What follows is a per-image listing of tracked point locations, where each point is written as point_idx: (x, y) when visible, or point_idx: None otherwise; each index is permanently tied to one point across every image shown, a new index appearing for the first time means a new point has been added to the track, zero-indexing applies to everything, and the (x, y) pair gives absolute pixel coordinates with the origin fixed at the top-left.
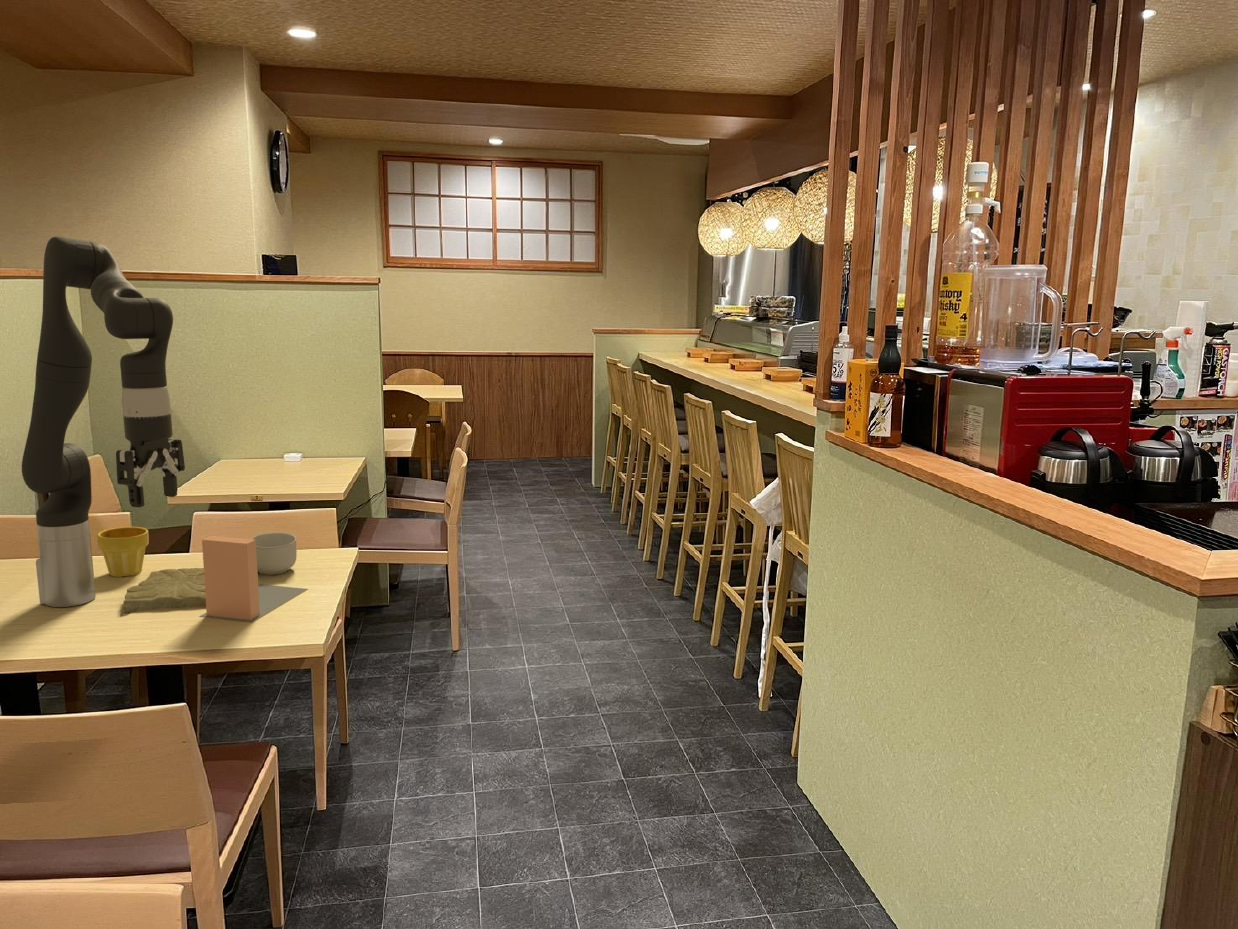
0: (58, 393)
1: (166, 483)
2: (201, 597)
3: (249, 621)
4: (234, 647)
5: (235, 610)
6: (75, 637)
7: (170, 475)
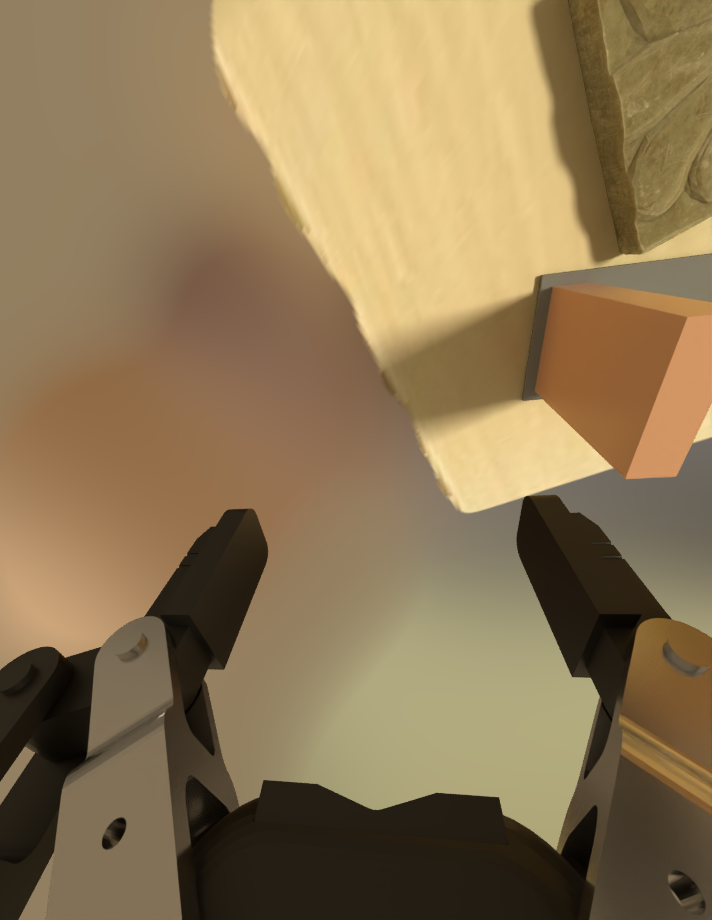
0: None
1: (561, 581)
2: (635, 218)
3: (527, 392)
4: (421, 433)
5: (547, 364)
6: (362, 51)
7: (596, 677)
